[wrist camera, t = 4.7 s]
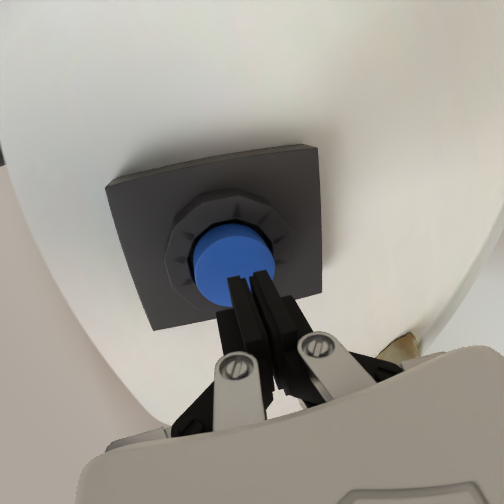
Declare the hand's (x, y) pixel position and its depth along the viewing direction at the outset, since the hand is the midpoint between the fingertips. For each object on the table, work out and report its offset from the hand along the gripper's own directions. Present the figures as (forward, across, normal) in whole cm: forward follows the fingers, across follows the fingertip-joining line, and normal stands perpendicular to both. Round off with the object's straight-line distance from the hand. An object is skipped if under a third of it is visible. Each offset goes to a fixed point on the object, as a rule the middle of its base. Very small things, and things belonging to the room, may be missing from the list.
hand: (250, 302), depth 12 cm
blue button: (+4, 0, 0) cm, 4 cm away
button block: (+8, 0, 0) cm, 8 cm away
